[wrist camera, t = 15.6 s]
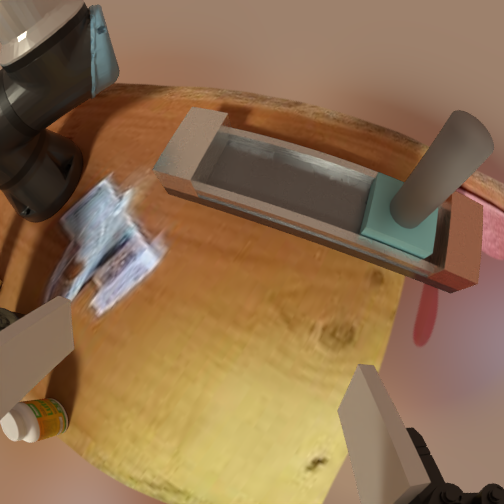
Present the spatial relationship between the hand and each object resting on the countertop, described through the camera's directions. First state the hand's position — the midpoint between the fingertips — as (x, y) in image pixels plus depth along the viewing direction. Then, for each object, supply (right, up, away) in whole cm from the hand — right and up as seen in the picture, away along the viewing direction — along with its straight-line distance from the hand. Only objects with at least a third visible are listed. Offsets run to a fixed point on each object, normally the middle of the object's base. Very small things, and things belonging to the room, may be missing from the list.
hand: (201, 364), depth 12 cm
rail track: (+11, +10, +23) cm, 27 cm away
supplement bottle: (-25, -18, +17) cm, 36 cm away
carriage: (+19, +8, +19) cm, 28 cm away
